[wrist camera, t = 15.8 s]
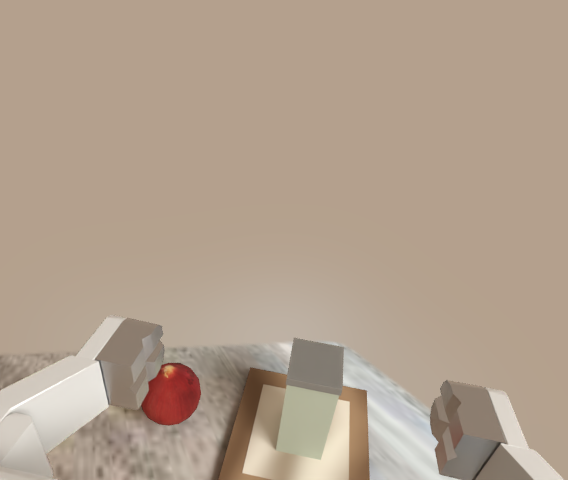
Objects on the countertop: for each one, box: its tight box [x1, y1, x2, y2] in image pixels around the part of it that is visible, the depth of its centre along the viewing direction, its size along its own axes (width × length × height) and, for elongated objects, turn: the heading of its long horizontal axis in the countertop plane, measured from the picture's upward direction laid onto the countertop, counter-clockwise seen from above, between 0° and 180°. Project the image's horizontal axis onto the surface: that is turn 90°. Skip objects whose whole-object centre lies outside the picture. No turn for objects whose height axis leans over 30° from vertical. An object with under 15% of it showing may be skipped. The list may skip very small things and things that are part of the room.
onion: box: [141, 363, 201, 425], centre depth 39 cm, size 6×6×8 cm
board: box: [218, 368, 370, 480], centre depth 40 cm, size 14×14×1 cm
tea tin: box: [276, 338, 344, 460], centre depth 37 cm, size 5×5×11 cm
